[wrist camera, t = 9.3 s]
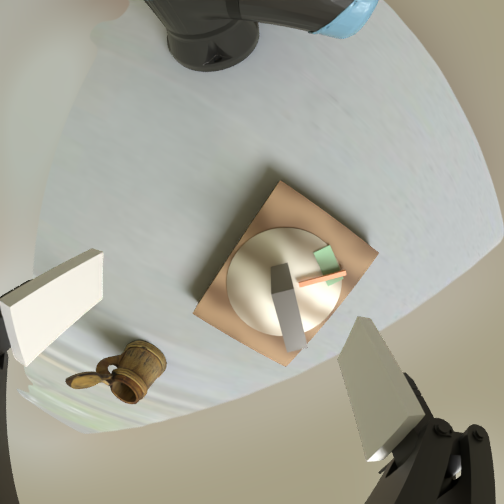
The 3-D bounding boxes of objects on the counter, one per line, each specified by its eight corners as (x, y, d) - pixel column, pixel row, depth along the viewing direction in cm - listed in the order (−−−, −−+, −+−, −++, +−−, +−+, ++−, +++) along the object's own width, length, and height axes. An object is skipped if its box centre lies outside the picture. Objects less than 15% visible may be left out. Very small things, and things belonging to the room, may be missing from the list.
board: (279, 180, 39) (280, 180, 35) (369, 246, 41) (379, 253, 37) (198, 303, 45) (191, 314, 41) (284, 353, 47) (285, 368, 42)
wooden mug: (121, 316, 47) (70, 368, 30) (174, 361, 49) (142, 426, 31) (105, 340, 49) (59, 390, 32) (153, 381, 51) (121, 440, 33)
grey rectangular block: (270, 264, 38) (271, 294, 28) (339, 246, 37) (365, 269, 26) (283, 311, 40) (287, 352, 29) (348, 294, 39) (371, 329, 28)
